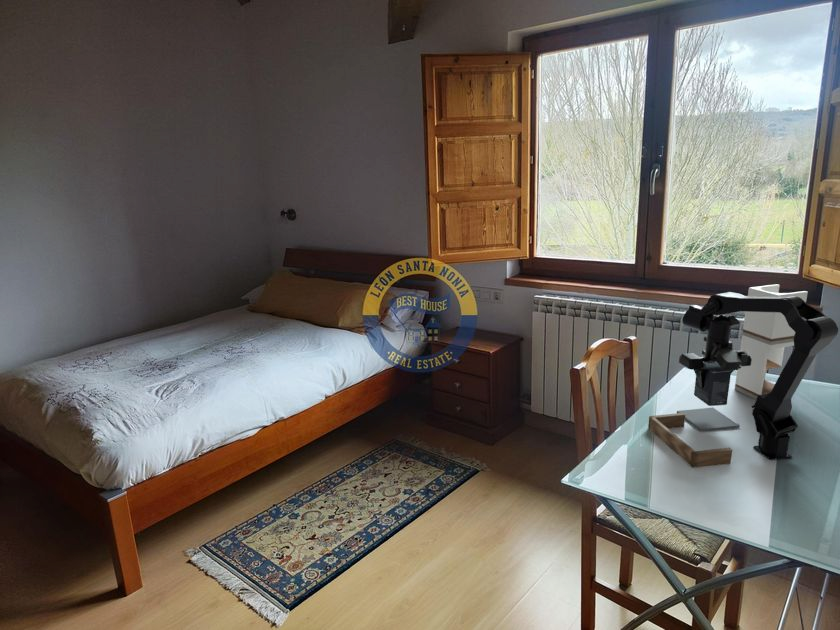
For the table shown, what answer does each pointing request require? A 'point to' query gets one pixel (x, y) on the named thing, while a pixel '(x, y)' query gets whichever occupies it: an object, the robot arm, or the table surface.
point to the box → (714, 386)
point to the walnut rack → (693, 458)
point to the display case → (764, 342)
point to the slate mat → (708, 419)
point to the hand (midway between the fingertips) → (711, 387)
